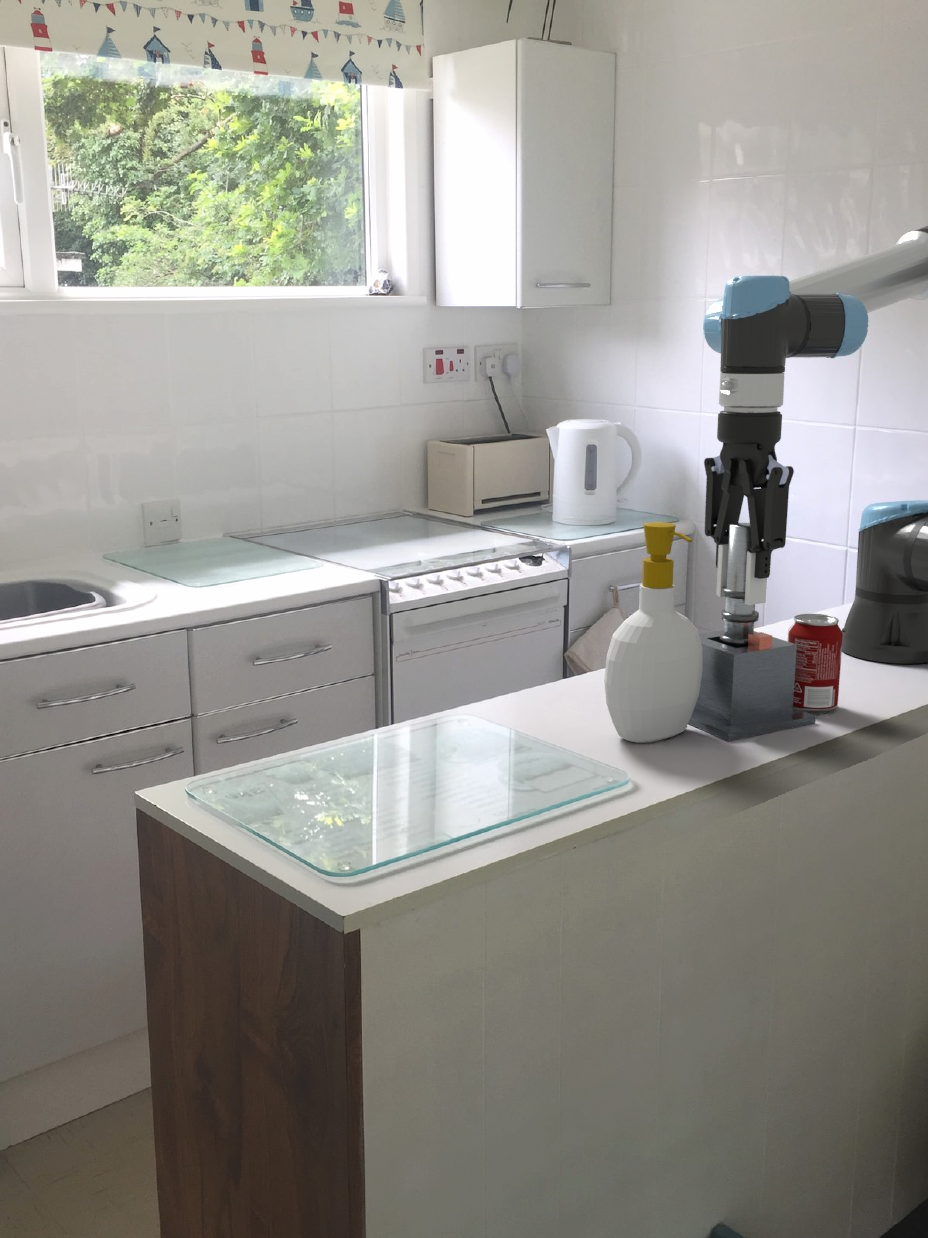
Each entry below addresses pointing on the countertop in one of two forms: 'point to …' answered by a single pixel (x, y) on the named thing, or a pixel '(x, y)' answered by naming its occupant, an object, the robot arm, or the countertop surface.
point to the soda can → (816, 662)
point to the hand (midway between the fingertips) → (740, 598)
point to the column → (737, 590)
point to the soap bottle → (654, 653)
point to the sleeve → (747, 688)
